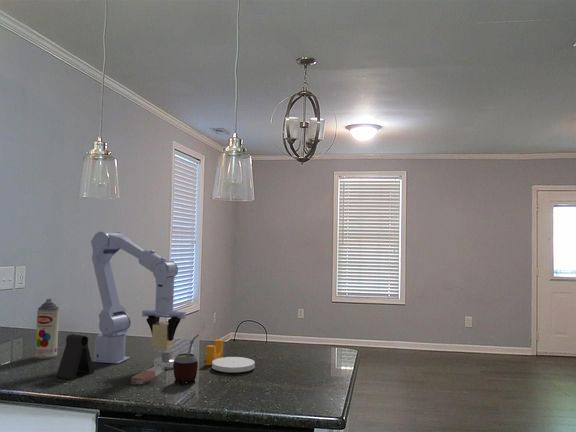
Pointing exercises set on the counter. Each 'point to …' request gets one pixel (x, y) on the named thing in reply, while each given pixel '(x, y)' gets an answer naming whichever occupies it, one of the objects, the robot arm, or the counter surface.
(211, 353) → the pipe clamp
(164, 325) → the tan rectangular block
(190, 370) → the mate gourd
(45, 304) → the aerosol can
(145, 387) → the counter surface
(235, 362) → the plastic lid
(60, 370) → the phone stand
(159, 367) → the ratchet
